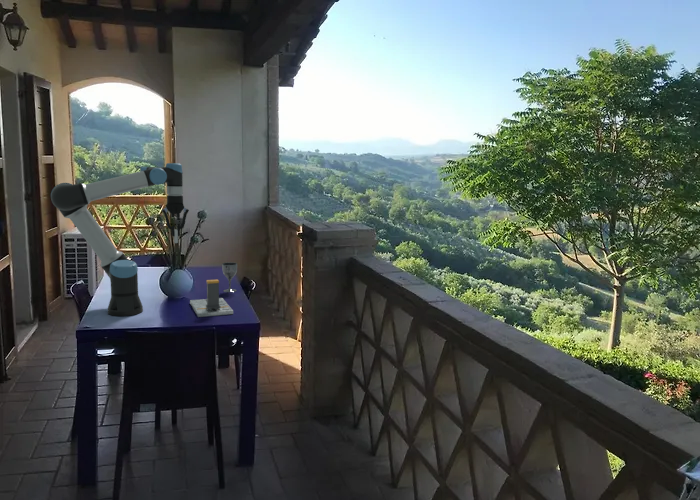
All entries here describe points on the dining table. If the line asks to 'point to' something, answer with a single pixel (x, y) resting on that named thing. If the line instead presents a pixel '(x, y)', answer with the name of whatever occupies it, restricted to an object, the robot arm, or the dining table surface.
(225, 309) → the plate
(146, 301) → the dining table surface
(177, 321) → the dining table surface
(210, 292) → the block
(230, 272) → the wine glass
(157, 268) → the dining table surface
